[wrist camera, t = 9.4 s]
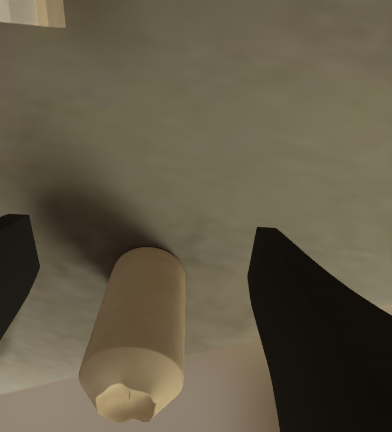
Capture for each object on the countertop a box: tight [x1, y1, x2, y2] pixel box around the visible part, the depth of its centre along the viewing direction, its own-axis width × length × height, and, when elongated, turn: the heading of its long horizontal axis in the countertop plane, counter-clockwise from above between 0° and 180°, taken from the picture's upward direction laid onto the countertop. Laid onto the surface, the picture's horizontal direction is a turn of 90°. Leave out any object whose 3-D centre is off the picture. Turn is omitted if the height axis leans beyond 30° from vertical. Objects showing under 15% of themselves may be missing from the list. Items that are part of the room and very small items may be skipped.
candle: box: [79, 247, 185, 423], centre depth 20 cm, size 6×6×10 cm
